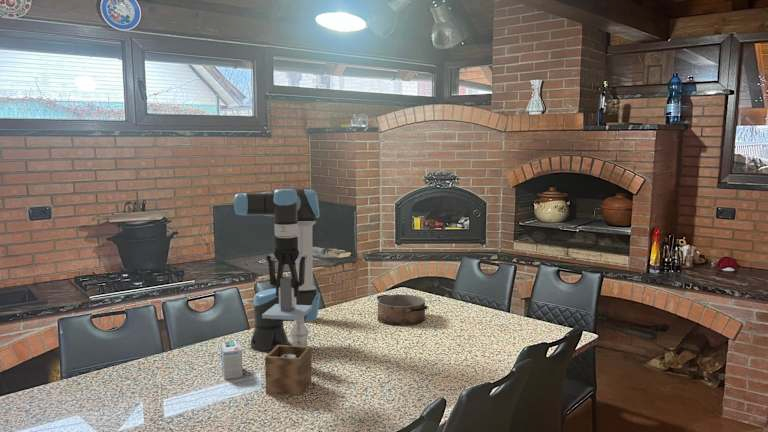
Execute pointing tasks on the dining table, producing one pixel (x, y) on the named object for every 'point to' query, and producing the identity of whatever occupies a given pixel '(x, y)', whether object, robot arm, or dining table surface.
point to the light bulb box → (231, 360)
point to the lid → (287, 304)
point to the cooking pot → (401, 310)
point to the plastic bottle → (299, 333)
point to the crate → (288, 370)
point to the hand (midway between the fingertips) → (287, 305)
